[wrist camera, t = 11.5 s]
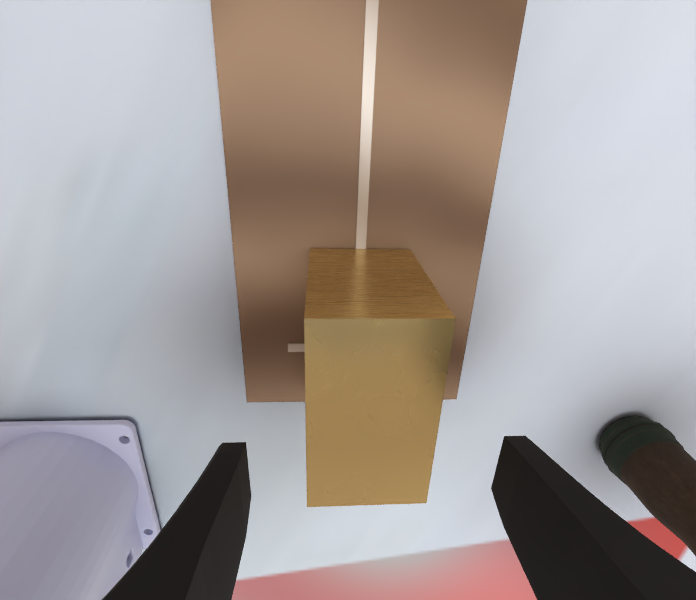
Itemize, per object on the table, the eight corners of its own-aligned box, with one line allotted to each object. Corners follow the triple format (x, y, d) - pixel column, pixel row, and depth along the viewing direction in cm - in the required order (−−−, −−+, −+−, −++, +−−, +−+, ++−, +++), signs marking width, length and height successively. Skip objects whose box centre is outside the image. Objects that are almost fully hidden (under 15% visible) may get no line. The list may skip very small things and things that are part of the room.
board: (447, 380, 21) (457, 400, 20) (252, 382, 20) (246, 403, 19) (520, -66, 13) (544, -88, 12) (213, -87, 13) (199, -113, 11)
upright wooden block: (396, 391, 19) (426, 502, 14) (311, 392, 19) (307, 506, 13) (410, 249, 16) (455, 318, 11) (309, 248, 16) (304, 318, 10)
